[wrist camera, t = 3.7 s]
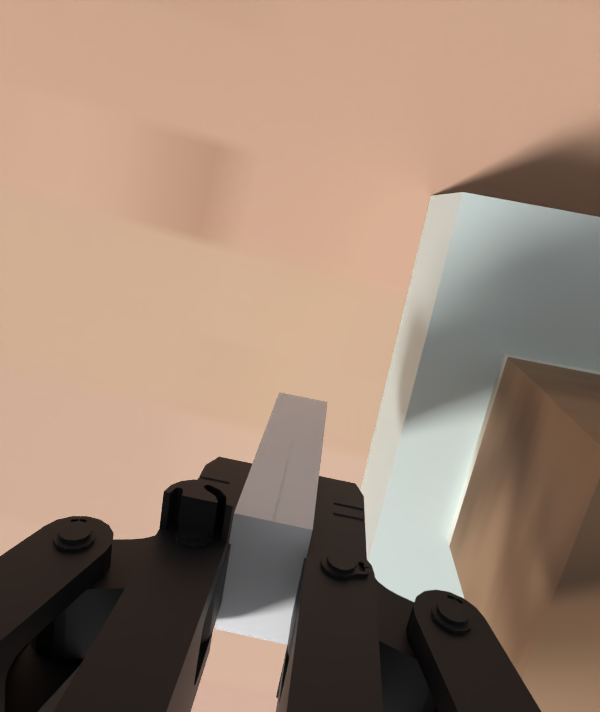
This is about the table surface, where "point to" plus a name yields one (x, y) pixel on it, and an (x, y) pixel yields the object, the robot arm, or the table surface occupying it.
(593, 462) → the cube
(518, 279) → the steps
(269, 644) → the table surface
